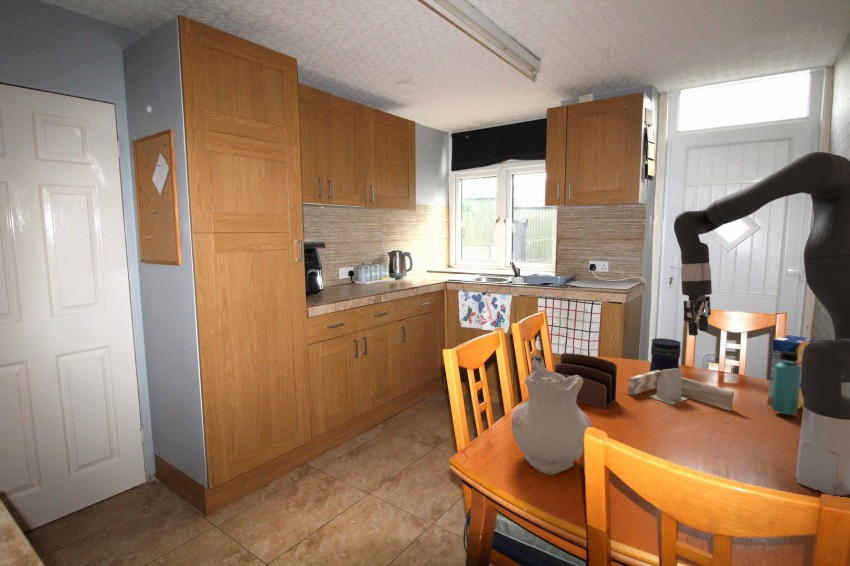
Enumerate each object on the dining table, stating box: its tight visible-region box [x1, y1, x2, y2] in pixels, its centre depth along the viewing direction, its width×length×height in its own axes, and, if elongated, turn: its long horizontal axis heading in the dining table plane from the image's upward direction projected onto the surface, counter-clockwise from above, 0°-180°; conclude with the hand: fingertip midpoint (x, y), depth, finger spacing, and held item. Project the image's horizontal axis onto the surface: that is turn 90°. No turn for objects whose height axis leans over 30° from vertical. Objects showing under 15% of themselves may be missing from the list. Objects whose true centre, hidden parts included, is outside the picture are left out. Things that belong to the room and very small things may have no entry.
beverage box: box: [766, 334, 815, 409], centre depth 141 cm, size 7×11×22 cm, turn 120°
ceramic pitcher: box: [511, 353, 593, 476], centre depth 108 cm, size 22×20×25 cm
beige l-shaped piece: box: [627, 370, 735, 412], centre depth 145 cm, size 17×25×6 cm, turn 30°
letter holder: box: [554, 352, 618, 410], centre depth 148 cm, size 10×20×14 cm, turn 48°
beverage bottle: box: [770, 351, 801, 415], centre depth 133 cm, size 6×7×20 cm
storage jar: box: [649, 337, 682, 372], centre depth 166 cm, size 10×10×15 cm
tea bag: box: [656, 367, 682, 401], centre depth 147 cm, size 4×7×10 cm, turn 105°
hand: (698, 333), depth 128 cm, fingers open, 8 cm apart
